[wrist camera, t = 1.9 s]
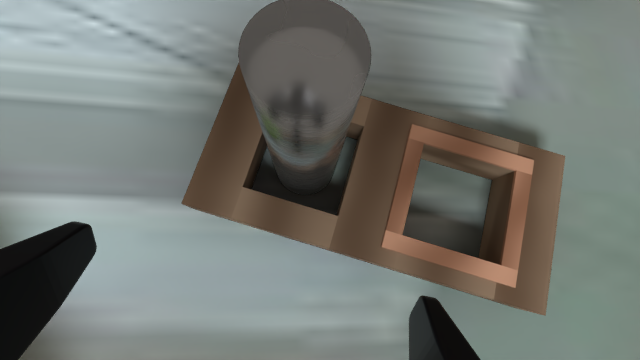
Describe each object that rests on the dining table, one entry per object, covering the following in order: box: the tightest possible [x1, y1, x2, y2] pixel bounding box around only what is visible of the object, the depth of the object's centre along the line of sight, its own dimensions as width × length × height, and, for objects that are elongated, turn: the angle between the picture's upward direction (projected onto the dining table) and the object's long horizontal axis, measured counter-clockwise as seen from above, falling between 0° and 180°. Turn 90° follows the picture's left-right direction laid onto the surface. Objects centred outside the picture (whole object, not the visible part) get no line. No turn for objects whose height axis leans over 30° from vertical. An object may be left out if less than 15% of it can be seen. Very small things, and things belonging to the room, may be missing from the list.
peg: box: [238, 0, 371, 195], centre depth 16 cm, size 4×4×13 cm
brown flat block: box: [181, 63, 565, 315], centre depth 21 cm, size 22×10×3 cm, turn 73°
